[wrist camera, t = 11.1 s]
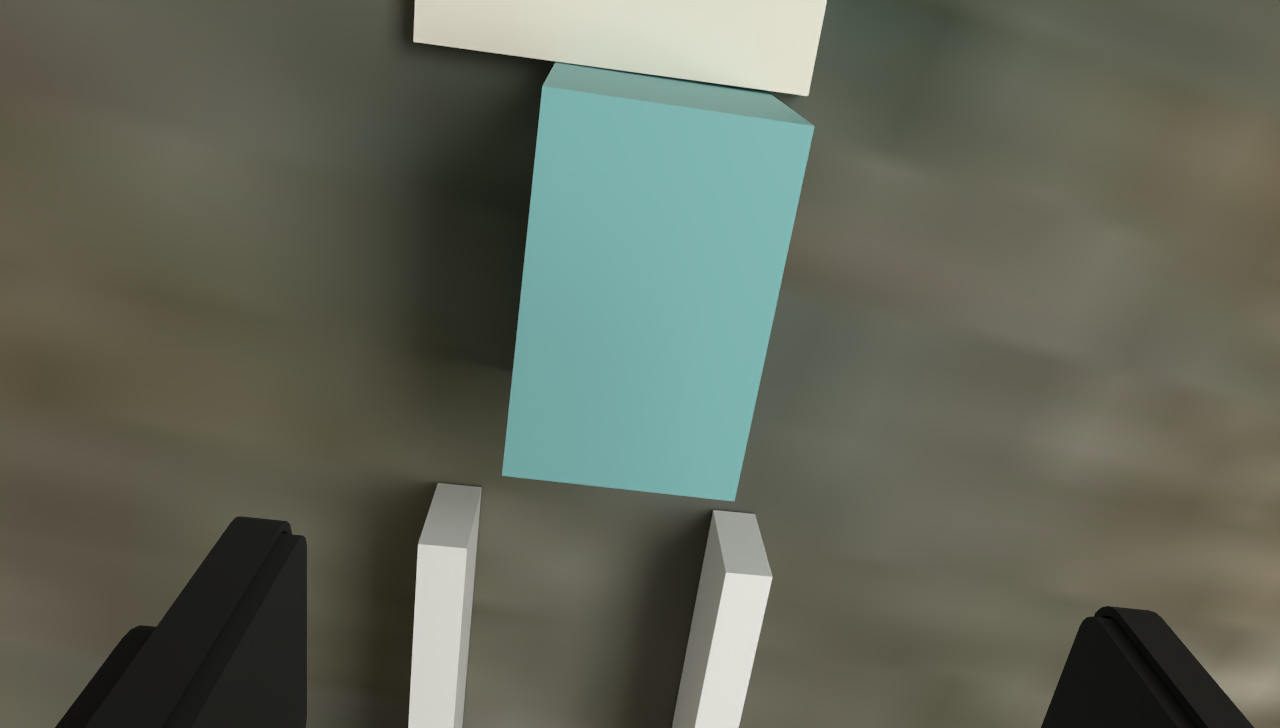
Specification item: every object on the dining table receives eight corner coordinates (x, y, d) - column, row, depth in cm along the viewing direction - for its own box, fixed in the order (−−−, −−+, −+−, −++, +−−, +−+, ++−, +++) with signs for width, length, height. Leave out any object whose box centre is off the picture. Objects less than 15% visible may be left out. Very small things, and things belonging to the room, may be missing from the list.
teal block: (522, 372, 25) (501, 475, 20) (556, 59, 22) (541, 85, 17) (708, 394, 25) (734, 501, 20) (766, 91, 22) (814, 126, 17)
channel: (418, 805, 30) (399, 888, 28) (437, 482, 26) (417, 543, 23) (689, 824, 31) (697, 907, 28) (754, 514, 27) (772, 576, 24)
